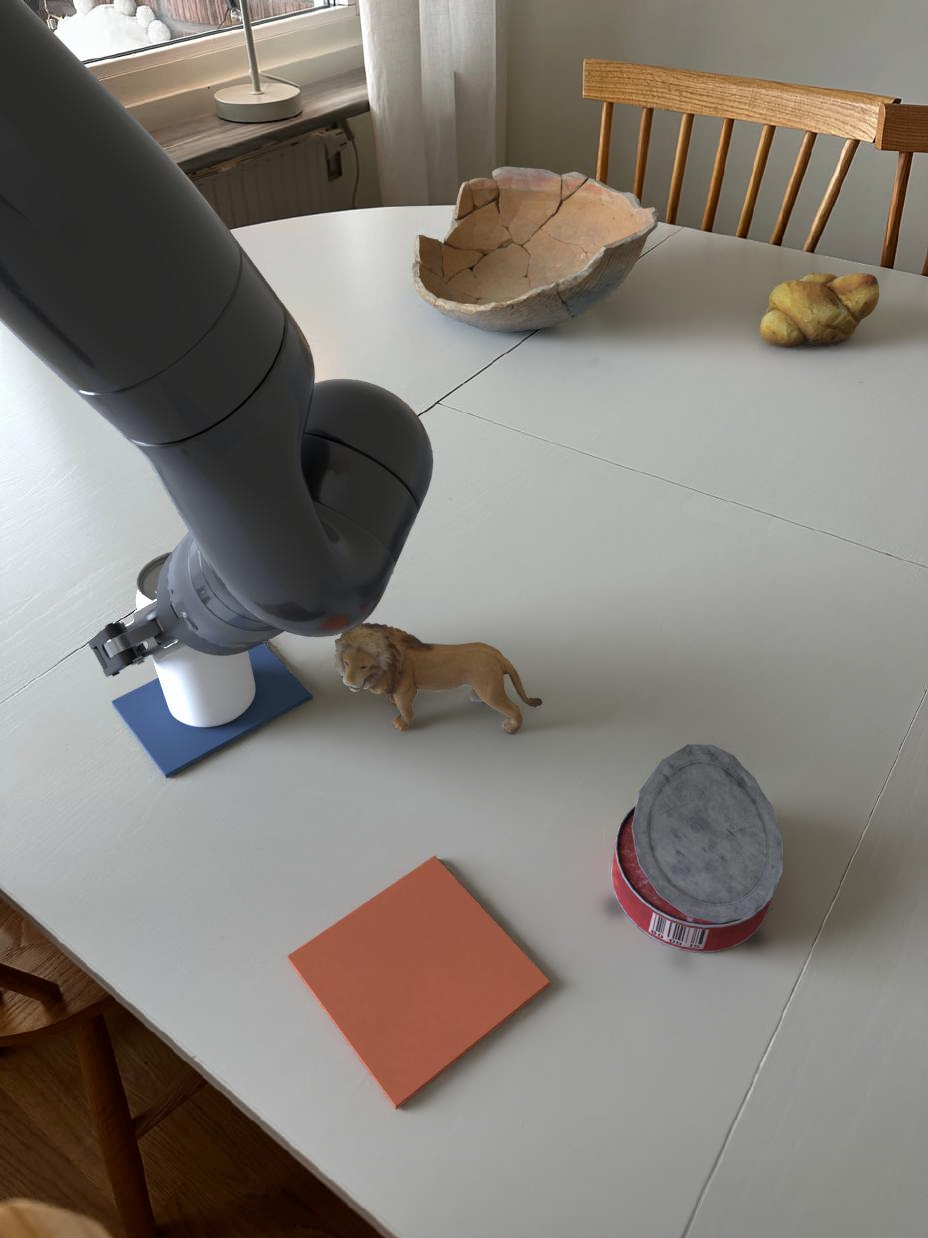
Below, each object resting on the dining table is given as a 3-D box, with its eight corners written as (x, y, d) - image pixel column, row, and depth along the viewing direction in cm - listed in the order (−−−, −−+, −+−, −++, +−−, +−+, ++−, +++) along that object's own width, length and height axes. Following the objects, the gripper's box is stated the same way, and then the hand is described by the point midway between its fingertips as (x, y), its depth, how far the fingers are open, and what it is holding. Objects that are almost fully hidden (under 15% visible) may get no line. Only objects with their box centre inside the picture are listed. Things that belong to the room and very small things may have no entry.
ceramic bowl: (357, 295, 120) (366, 165, 112) (496, 265, 138) (512, 150, 130) (550, 380, 106) (578, 238, 97) (677, 334, 124) (709, 211, 115)
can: (151, 702, 73) (109, 579, 65) (219, 655, 76) (188, 533, 68) (206, 745, 70) (169, 622, 62) (274, 694, 73) (249, 571, 65)
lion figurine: (343, 749, 70) (330, 660, 64) (343, 694, 74) (331, 605, 68) (547, 733, 71) (553, 643, 65) (536, 680, 75) (541, 591, 68)
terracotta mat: (396, 1110, 52) (396, 1107, 51) (287, 959, 58) (286, 956, 58) (550, 984, 57) (550, 981, 56) (434, 858, 63) (434, 855, 63)
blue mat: (166, 778, 68) (165, 775, 68) (112, 704, 73) (111, 700, 73) (312, 697, 73) (312, 694, 73) (252, 634, 79) (252, 630, 78)
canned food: (720, 867, 67) (817, 785, 62) (728, 997, 59) (841, 918, 54) (580, 796, 66) (667, 705, 60) (569, 921, 58) (668, 830, 52)
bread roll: (775, 362, 110) (790, 294, 105) (734, 325, 117) (746, 259, 112) (874, 346, 113) (894, 278, 108) (828, 310, 120) (844, 245, 115)
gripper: (314, 474, 58) (248, 536, 72) (84, 573, 51) (62, 619, 66) (372, 587, 58) (295, 626, 73) (151, 699, 52) (115, 717, 66)
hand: (185, 623), depth 69 cm, fingers open, 8 cm apart
